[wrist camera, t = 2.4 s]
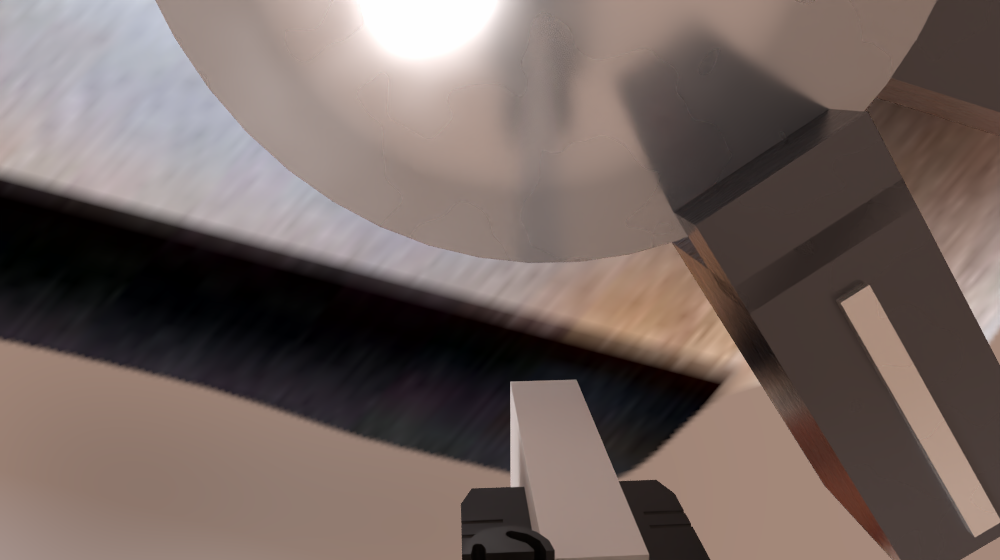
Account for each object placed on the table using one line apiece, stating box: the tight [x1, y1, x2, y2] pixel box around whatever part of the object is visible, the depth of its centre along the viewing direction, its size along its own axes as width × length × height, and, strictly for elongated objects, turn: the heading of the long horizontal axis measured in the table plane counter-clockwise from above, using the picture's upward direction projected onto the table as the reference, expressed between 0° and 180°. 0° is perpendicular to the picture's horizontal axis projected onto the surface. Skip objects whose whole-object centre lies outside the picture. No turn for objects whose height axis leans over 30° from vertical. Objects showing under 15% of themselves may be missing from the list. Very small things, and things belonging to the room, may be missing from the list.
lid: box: [156, 0, 1000, 560], centre depth 14 cm, size 15×24×5 cm, turn 34°
